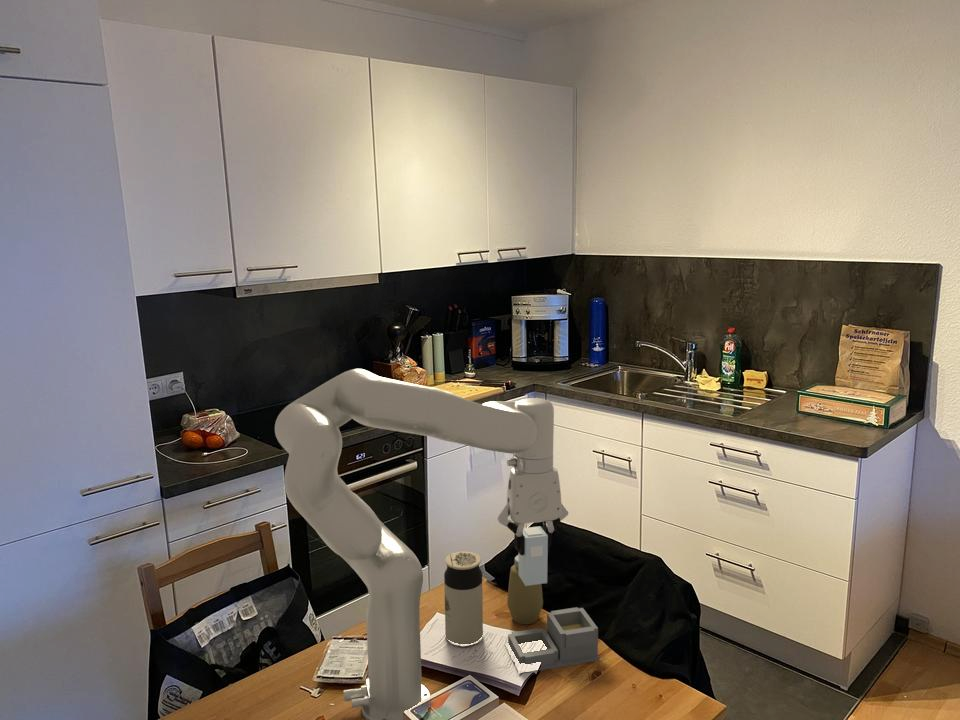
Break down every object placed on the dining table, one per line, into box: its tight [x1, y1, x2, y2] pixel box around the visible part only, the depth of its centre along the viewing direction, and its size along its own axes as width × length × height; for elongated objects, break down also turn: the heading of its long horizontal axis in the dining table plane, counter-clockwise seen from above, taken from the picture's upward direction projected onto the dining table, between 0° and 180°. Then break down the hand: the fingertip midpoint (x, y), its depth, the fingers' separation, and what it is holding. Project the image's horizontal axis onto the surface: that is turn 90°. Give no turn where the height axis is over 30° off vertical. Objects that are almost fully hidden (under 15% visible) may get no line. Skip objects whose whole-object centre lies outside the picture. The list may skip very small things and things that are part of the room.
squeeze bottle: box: [506, 554, 544, 625], centre depth 157 cm, size 8×8×18 cm
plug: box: [518, 525, 549, 586], centre depth 141 cm, size 4×5×10 cm
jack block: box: [507, 606, 600, 672], centre depth 145 cm, size 17×10×6 cm, turn 104°
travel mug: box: [443, 550, 484, 644], centre depth 150 cm, size 8×8×18 cm
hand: (532, 549), depth 140 cm, fingers closed on plug, 4 cm apart
